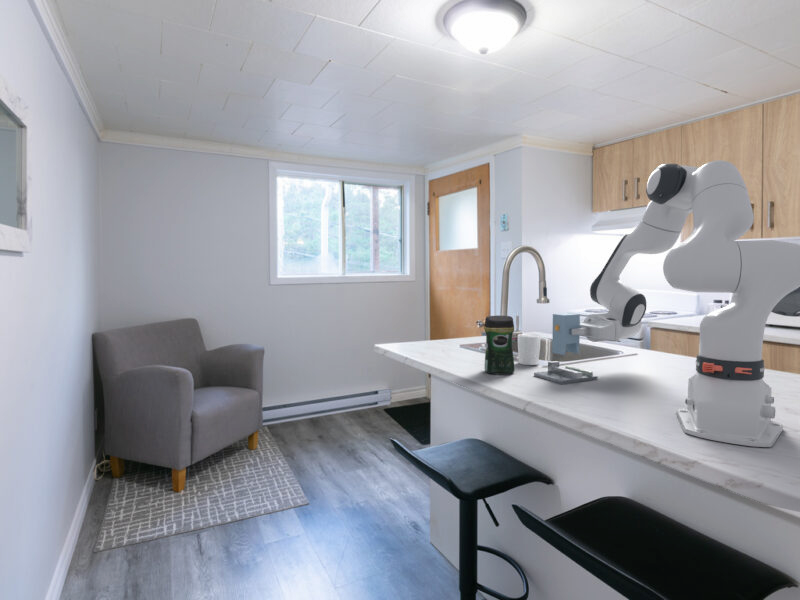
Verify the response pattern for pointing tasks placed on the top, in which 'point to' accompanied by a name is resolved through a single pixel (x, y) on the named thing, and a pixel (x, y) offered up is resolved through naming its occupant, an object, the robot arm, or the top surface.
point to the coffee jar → (499, 344)
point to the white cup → (529, 349)
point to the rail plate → (562, 377)
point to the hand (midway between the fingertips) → (563, 330)
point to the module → (565, 333)
